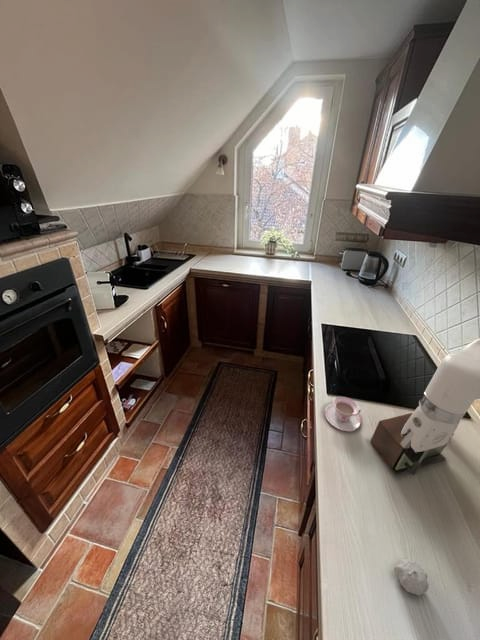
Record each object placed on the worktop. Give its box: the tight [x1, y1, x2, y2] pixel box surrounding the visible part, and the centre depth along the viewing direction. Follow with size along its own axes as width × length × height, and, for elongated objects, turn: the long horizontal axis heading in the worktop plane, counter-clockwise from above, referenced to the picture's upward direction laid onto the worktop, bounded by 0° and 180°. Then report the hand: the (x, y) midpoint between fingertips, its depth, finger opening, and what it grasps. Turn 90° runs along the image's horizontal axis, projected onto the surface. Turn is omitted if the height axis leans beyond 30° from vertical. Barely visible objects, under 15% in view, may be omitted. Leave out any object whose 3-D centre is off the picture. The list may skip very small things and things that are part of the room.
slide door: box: [395, 450, 429, 476], centre depth 70 cm, size 4×9×8 cm, turn 105°
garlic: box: [393, 557, 430, 596], centre depth 52 cm, size 6×5×5 cm
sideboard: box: [370, 412, 455, 476], centre depth 76 cm, size 11×18×10 cm, turn 105°
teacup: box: [323, 396, 362, 433], centre depth 87 cm, size 12×12×6 cm
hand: (410, 456), depth 64 cm, fingers closed
